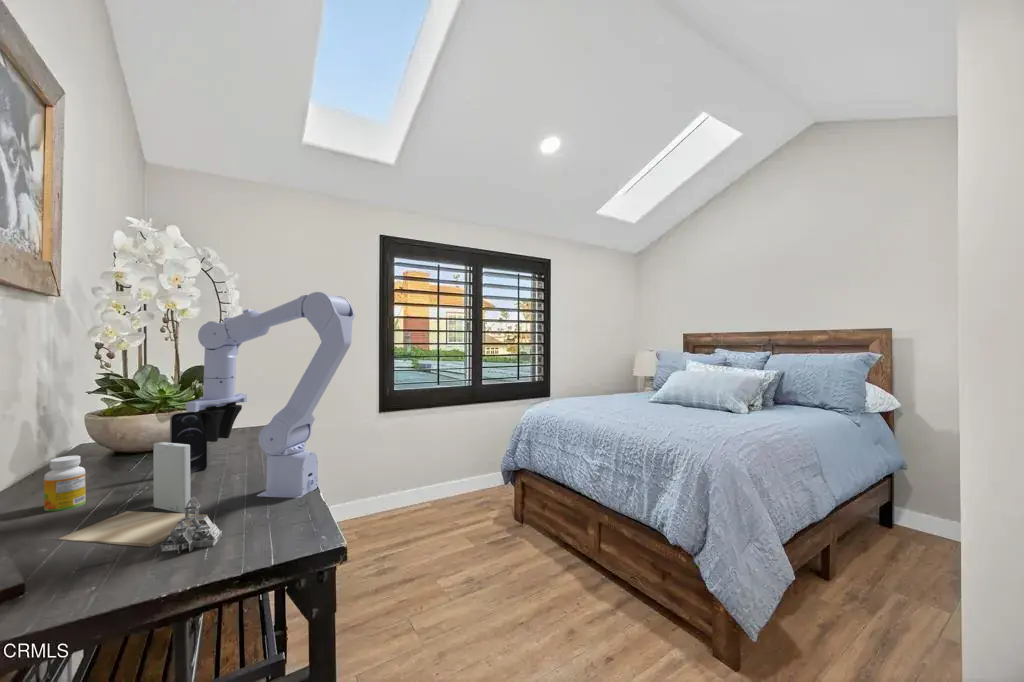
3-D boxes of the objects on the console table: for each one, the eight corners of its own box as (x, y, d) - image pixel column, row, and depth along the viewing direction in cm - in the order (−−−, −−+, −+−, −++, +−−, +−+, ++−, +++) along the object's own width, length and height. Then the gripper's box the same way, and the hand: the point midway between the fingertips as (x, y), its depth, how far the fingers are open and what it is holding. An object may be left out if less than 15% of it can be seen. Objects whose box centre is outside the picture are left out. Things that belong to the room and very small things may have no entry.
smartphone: (170, 478, 98) (170, 414, 98) (169, 478, 98) (169, 413, 98) (207, 470, 104) (207, 409, 104) (205, 469, 105) (206, 409, 105)
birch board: (207, 517, 76) (207, 514, 76) (150, 547, 65) (150, 543, 65) (127, 514, 78) (127, 511, 78) (57, 542, 67) (57, 538, 67)
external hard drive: (182, 513, 78) (182, 446, 78) (151, 508, 81) (152, 443, 81) (191, 510, 80) (191, 444, 80) (161, 505, 82) (161, 441, 82)
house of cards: (126, 573, 58) (126, 518, 58) (158, 544, 67) (158, 496, 67) (202, 564, 61) (202, 511, 61) (224, 537, 69) (224, 490, 69)
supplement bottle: (44, 509, 80) (44, 458, 80) (84, 501, 84) (84, 452, 84) (43, 517, 76) (43, 464, 76) (86, 509, 80) (86, 458, 80)
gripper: (228, 374, 100) (226, 431, 100) (173, 379, 85) (171, 446, 85) (256, 375, 99) (254, 433, 99) (205, 381, 85) (203, 448, 85)
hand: (217, 439), depth 92 cm, fingers open, 3 cm apart
